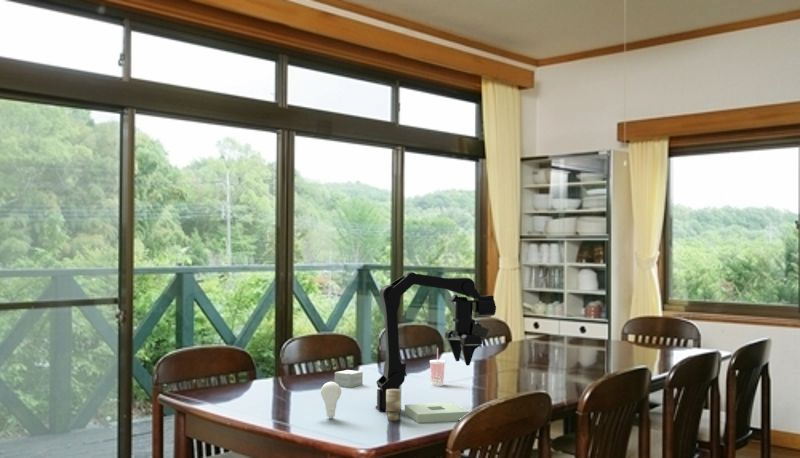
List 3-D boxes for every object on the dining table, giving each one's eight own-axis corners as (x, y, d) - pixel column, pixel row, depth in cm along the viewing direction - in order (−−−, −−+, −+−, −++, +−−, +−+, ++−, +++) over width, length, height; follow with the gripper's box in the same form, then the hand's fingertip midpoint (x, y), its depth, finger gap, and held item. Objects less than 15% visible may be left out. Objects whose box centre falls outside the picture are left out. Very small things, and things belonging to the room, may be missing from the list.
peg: (387, 421, 222) (388, 391, 223) (383, 418, 227) (384, 389, 227) (402, 420, 224) (402, 391, 224) (398, 417, 228) (398, 388, 228)
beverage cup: (444, 386, 280) (444, 349, 281) (428, 385, 282) (428, 348, 282) (446, 383, 286) (446, 346, 287) (430, 382, 288) (430, 346, 288)
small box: (346, 382, 287) (347, 369, 287) (363, 385, 283) (363, 371, 283) (333, 385, 281) (333, 372, 281) (350, 388, 276) (350, 374, 276)
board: (418, 422, 221) (418, 414, 221) (404, 412, 235) (404, 404, 235) (468, 419, 226) (468, 411, 226) (452, 410, 239) (452, 402, 239)
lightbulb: (317, 419, 224) (317, 382, 225) (326, 415, 230) (326, 379, 230) (335, 421, 222) (335, 384, 222) (344, 417, 228) (344, 380, 228)
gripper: (497, 318, 239) (496, 367, 239) (475, 313, 257) (474, 358, 257) (465, 318, 236) (464, 367, 236) (445, 313, 254) (444, 359, 253)
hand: (462, 363), depth 245 cm, fingers open, 9 cm apart
